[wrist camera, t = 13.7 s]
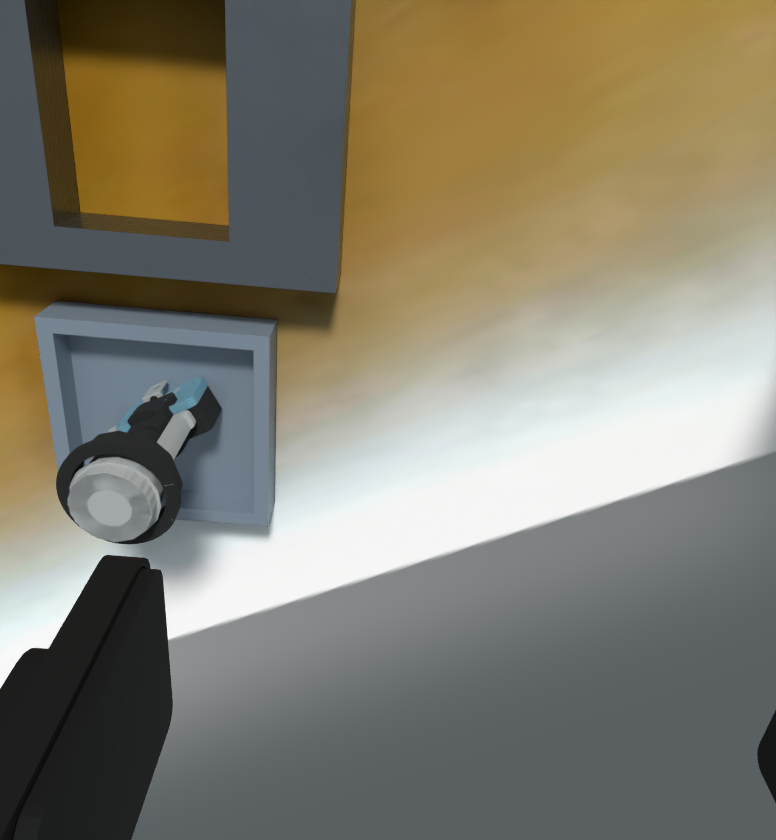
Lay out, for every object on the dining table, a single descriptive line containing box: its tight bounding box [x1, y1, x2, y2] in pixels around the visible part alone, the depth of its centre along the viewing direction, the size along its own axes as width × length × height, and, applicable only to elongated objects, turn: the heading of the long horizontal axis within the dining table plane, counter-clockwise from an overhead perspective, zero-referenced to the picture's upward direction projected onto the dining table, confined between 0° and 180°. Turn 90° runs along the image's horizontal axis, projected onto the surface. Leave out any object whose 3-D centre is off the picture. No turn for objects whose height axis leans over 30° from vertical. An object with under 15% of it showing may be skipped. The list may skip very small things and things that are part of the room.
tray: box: [34, 301, 277, 526], centre depth 39 cm, size 12×12×2 cm
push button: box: [56, 377, 222, 544], centre depth 35 cm, size 7×5×10 cm
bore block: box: [0, 0, 356, 293], centre depth 32 cm, size 18×14×3 cm
